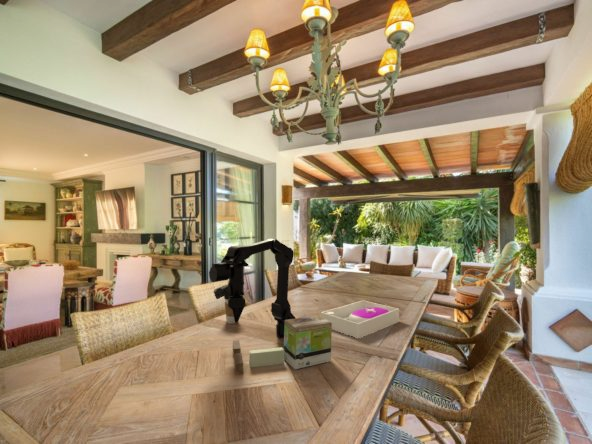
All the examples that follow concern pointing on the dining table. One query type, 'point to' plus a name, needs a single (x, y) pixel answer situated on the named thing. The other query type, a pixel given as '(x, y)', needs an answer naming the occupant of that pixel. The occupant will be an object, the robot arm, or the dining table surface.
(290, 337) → the tea box
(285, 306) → the robot arm
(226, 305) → the coffee cup
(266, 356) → the pale green pillar
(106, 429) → the dining table surface
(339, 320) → the cream tray
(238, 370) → the walnut rail
